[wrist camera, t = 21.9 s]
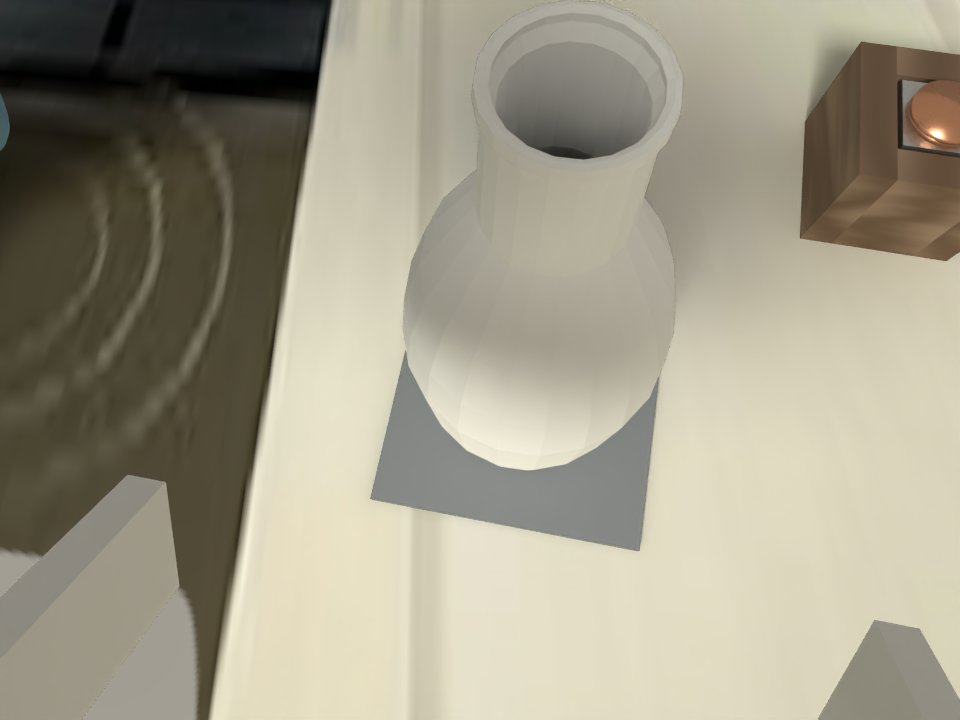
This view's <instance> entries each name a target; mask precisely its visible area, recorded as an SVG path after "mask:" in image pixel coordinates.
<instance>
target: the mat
mask: <svg viewBox="0 0 960 720" xmlns="http://www.w3.org/2000/svg"><path fill="white" fill-rule="evenodd" d="M658 379H659V377H658ZM658 379H657V381H656V384H655V386H654V388H653V391H652V393H651V396H650V398H649V399H648V400H647V401H646V402H645V403H644V404H643V405H642V406H641V407H640V409H639V410H638V411H637V412H636V413H635V414H634V415H633V416H632V417H631V418H630V419H629V421H628V422H627V423H626V424H625V425H624V426H623V427H622V428H621V429H620V430H618V431H617V432H616V433H615V434H613V435H612V436H611V437H609V438H608V439H607V440H606V441H604V442H603V443H602V444H600V445H599V446H598V447H597V448H595V449H593V450H591V451H590V452H588V453H586V454H584V455H582V456H580V457H578V458H577V459H575V460H573V461H571V462H569V463H567V464H564V465H559V466H553V467H548V468H542V469H536V470H520V469H513V468H506V467H500V466H498V465H495V464H493V463H491V462H489V461H487V460H485V459H483V458H481V457H479V456H477V455H475V454H473V453H471V452H469V451H467V450H465V449H464V448H463V447H462V446H461V445H460V444H459V443H458V442H457V441H456V440H455V439H454V438H453V437H452V436H451V435H450V434H449V433H448V432H447V431H446V430H445V429H444V428H443V427H442V426H441V424H440V423H439V421H438V419H437V417H436V416H435V414H434V412H433V411H432V409H431V407H430V406H429V404H428V402H427V401H426V399H425V397H424V395H423V393H422V391H421V389H420V387H419V385H418V383H417V381H416V379H415V377H414V376H413V374H412V372H411V370H410V368H409V366H408V360H407V353H406V350H405V355H404V359H403V363H402V367H401V371H400V376H399V380H398V384H397V388H396V393H395V397H394V401H393V405H392V409H391V414H390V418H389V422H388V426H387V430H386V435H385V439H384V443H383V447H382V451H381V456H380V460H379V464H378V468H377V473H376V477H375V481H374V485H373V489H372V494H371V498H370V499H372V500H377V501H382V502H387V503H392V504H397V505H403V506H408V507H413V508H418V509H423V510H428V511H433V512H439V513H444V514H449V515H454V516H459V517H464V518H469V519H475V520H480V521H485V522H490V523H495V524H500V525H506V526H511V527H516V528H521V529H526V530H531V531H536V532H542V533H547V534H552V535H557V536H562V537H567V538H573V539H578V540H583V541H588V542H593V543H598V544H603V545H609V546H614V547H619V548H624V549H629V550H634V551H640V542H641V533H642V524H643V515H644V506H645V497H646V488H647V478H648V469H649V460H650V451H651V442H652V433H653V424H654V415H655V406H656V397H657V388H658Z"/></svg>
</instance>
